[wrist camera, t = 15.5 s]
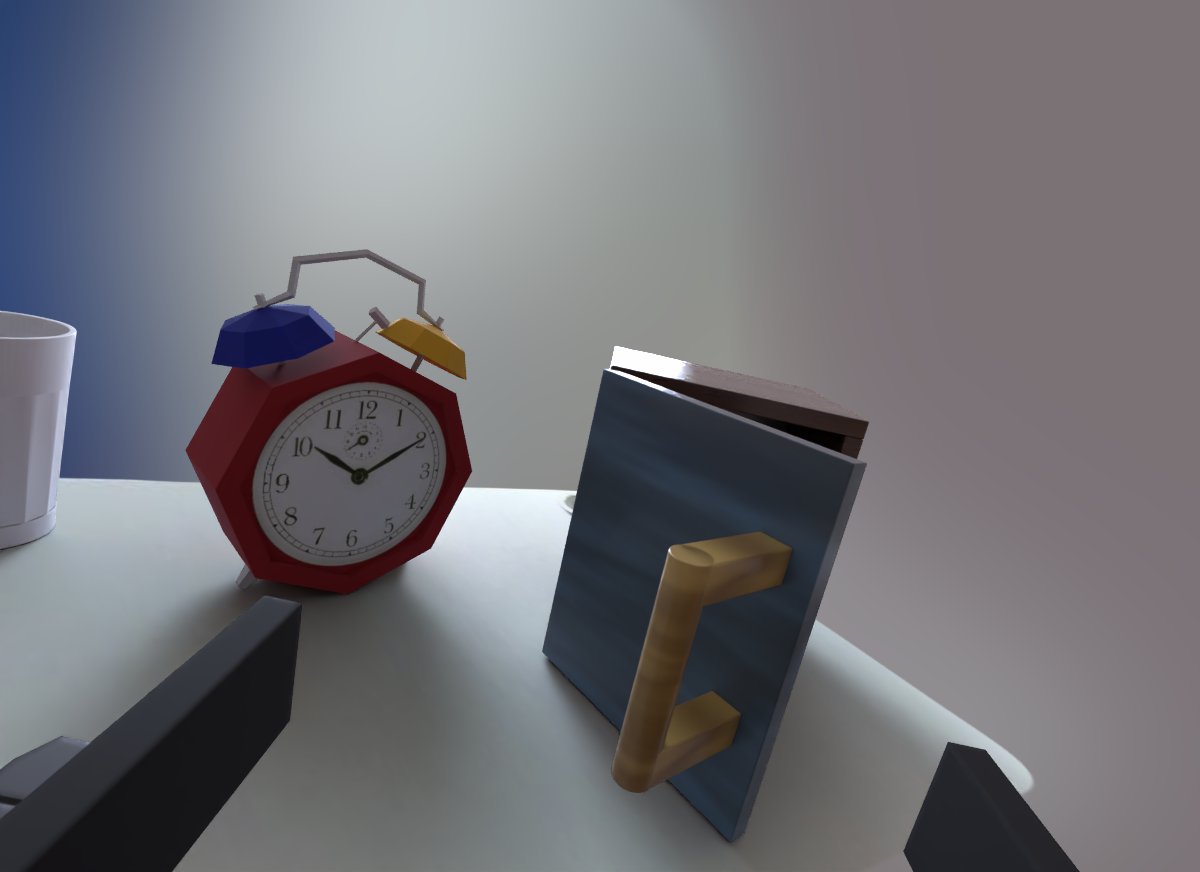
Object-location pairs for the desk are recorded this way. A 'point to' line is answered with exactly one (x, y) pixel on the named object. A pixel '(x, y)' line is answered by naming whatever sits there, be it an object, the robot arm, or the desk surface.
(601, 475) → the door
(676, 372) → the cupboard
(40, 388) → the cup
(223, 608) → the desk surface
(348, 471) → the alarm clock
